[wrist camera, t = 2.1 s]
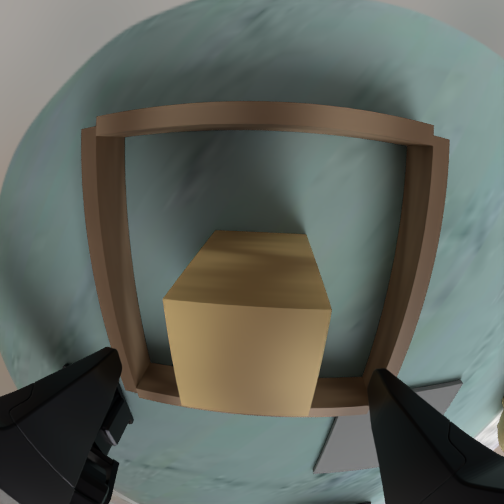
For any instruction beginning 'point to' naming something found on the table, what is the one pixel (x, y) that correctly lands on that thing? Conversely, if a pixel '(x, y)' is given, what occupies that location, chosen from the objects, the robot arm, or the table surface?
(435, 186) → the wooden picture frame
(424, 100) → the table surface
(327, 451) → the mat
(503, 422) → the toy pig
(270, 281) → the ochre block
